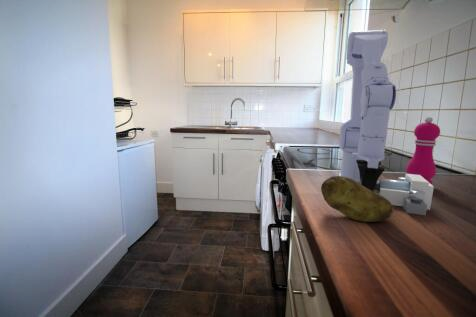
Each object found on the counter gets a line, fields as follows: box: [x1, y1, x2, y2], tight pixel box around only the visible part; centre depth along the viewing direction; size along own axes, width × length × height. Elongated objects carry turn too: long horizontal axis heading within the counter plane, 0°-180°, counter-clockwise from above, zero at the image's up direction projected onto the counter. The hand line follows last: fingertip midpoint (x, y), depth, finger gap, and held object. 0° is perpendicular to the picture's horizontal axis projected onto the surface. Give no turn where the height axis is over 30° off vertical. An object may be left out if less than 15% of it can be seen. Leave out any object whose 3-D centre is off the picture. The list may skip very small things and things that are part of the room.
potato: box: [320, 175, 393, 223], centre depth 51 cm, size 8×13×8 cm, turn 52°
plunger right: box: [408, 190, 425, 203], centre depth 55 cm, size 3×3×4 cm
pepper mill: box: [405, 116, 441, 185], centre depth 74 cm, size 7×7×20 cm
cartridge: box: [359, 178, 411, 194], centre depth 62 cm, size 4×12×5 cm, turn 68°
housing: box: [374, 173, 435, 216], centre depth 61 cm, size 15×10×6 cm, turn 158°
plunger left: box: [397, 176, 405, 181], centre depth 66 cm, size 3×3×4 cm
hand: (366, 190), depth 64 cm, fingers open, 5 cm apart
